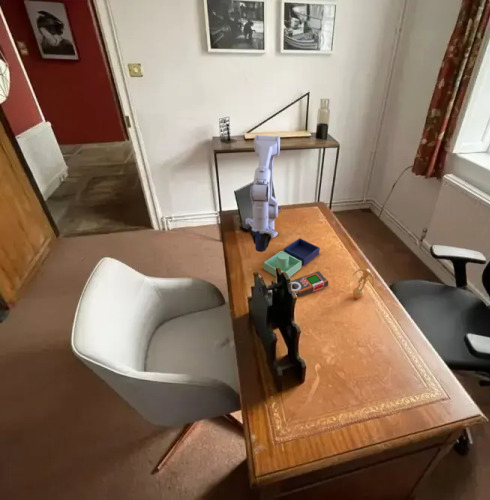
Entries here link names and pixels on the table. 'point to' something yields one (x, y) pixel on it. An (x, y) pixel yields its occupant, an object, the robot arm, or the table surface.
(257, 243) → the navy peg
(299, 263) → the mint tub
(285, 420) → the table surface
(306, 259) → the navy tub
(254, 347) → the table surface
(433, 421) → the table surface
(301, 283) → the electronic device
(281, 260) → the mint peg
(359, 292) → the figurine
